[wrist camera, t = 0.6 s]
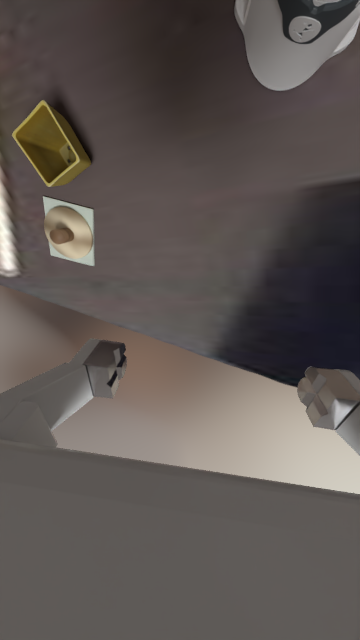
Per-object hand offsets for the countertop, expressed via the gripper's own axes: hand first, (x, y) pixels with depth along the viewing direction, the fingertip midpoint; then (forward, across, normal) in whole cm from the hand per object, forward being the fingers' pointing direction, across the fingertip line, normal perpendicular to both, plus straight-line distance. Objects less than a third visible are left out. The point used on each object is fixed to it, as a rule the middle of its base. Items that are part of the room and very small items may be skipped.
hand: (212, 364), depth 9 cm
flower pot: (+45, +30, -13) cm, 55 cm away
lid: (+44, +34, +3) cm, 56 cm away
